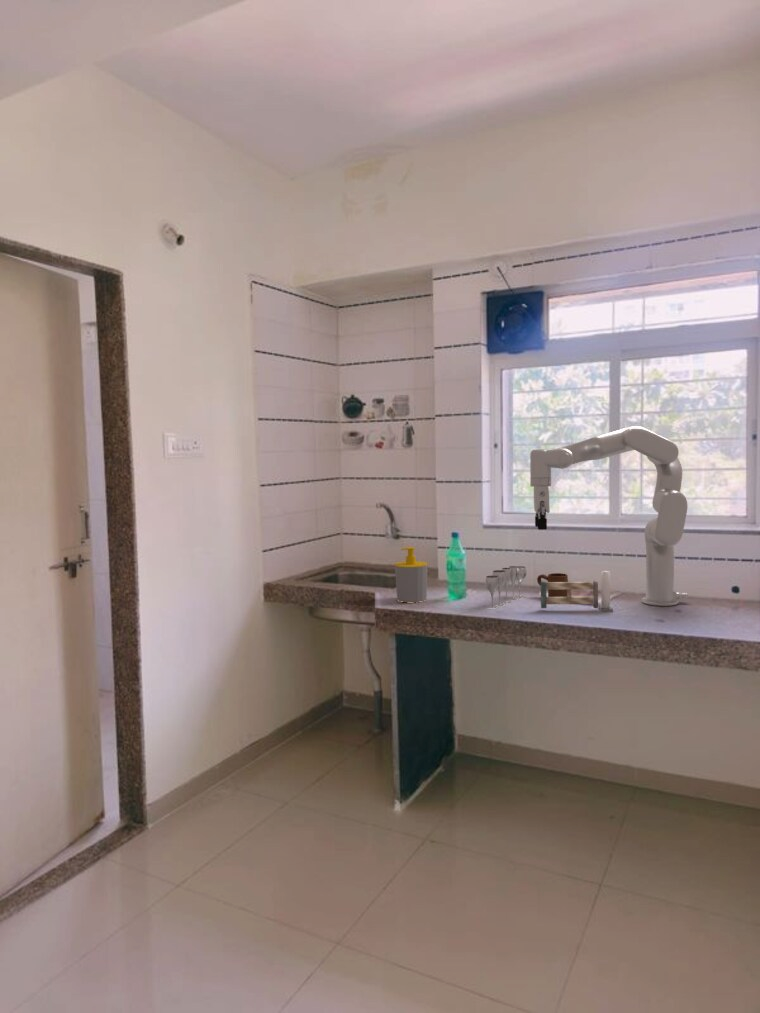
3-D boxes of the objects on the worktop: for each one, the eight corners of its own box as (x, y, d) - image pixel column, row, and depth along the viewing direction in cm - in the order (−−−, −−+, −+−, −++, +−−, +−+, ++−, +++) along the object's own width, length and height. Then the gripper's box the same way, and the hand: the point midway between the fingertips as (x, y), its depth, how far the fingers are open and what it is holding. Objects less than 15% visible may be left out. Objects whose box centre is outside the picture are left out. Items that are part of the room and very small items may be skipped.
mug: (534, 598, 268) (534, 575, 267) (540, 595, 275) (539, 571, 274) (565, 601, 262) (565, 577, 261) (570, 597, 269) (570, 573, 268)
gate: (597, 606, 247) (597, 580, 246) (598, 608, 245) (598, 581, 244) (540, 607, 249) (540, 581, 248) (541, 608, 247) (541, 582, 247)
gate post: (610, 608, 248) (609, 570, 247) (613, 611, 243) (612, 572, 242) (598, 608, 248) (598, 570, 247) (601, 611, 243) (601, 572, 242)
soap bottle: (395, 597, 279) (394, 545, 277) (427, 596, 278) (426, 544, 277) (395, 604, 266) (393, 550, 264) (428, 603, 265) (427, 549, 264)
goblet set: (496, 610, 251) (495, 574, 250) (482, 608, 254) (481, 573, 253) (529, 596, 273) (529, 563, 272) (516, 595, 276) (516, 562, 275)
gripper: (553, 483, 247) (554, 530, 248) (548, 481, 264) (548, 525, 265) (532, 483, 248) (532, 530, 249) (528, 481, 265) (528, 525, 266)
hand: (540, 528), depth 257 cm, fingers open, 9 cm apart
